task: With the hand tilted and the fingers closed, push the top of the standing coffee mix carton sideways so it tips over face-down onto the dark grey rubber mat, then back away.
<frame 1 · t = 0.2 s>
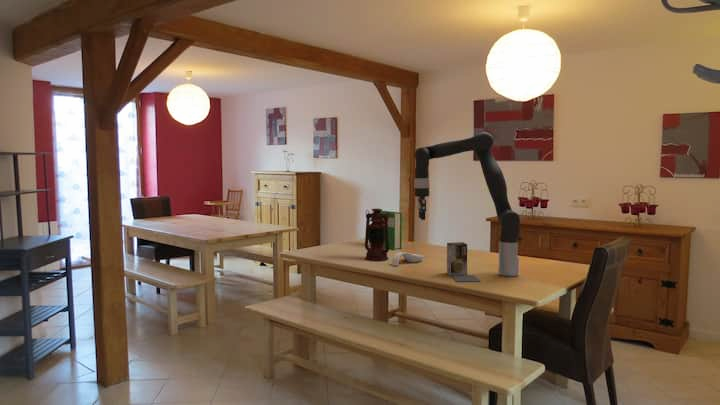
hand: (422, 218, 254), 29 cm above the table, tool pointing down, fingers open, 8 cm apart
mat: (465, 279, 248), on the table
spoon rest: (407, 263, 286), on the table
hardback book: (388, 248, 333), on the table
coffee box: (456, 274, 259), on the table
lantern: (376, 259, 296), on the table
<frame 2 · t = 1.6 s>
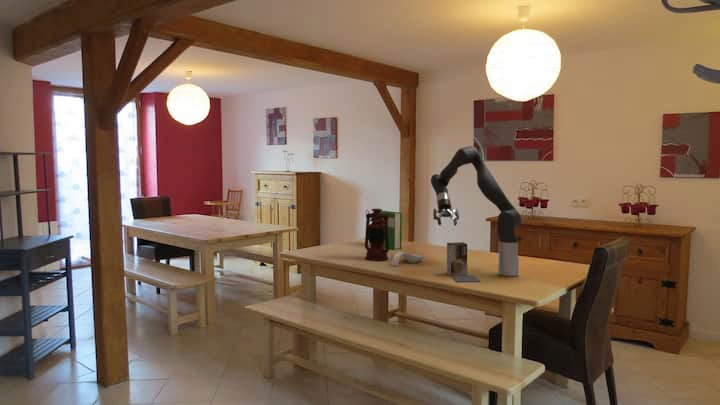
hand: (447, 224, 278), 23 cm above the table, tool tilted 45°, fingers open, 8 cm apart
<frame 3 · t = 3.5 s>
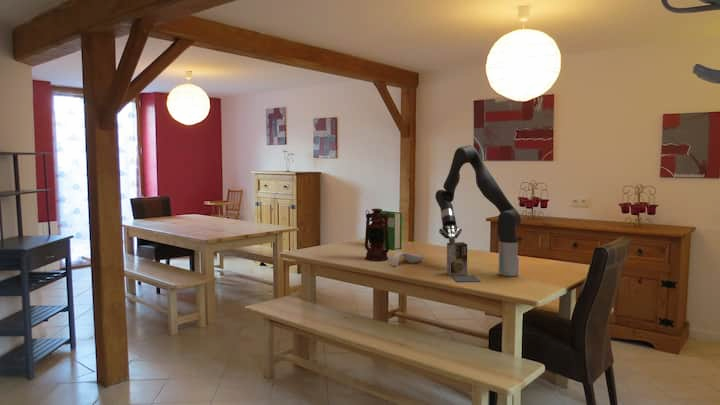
hand: (452, 243, 269), 14 cm above the table, tool tilted 45°, fingers closed
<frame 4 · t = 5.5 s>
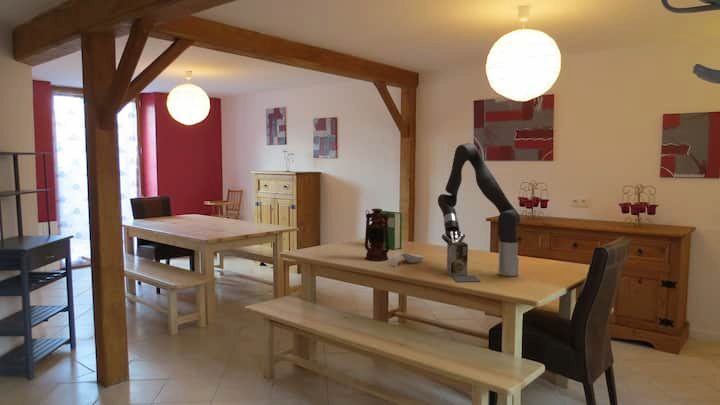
hand: (455, 250, 261), 12 cm above the table, tool tilted 45°, fingers closed
coffee box: (456, 274, 259), on the table, touching gripper
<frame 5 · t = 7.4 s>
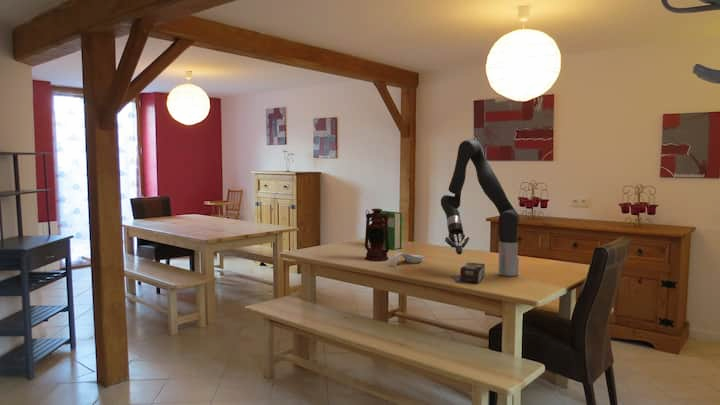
hand: (459, 253, 252), 12 cm above the table, tool tilted 45°, fingers closed
coffee box: (475, 268, 255), point 4 cm above the table, touching mat
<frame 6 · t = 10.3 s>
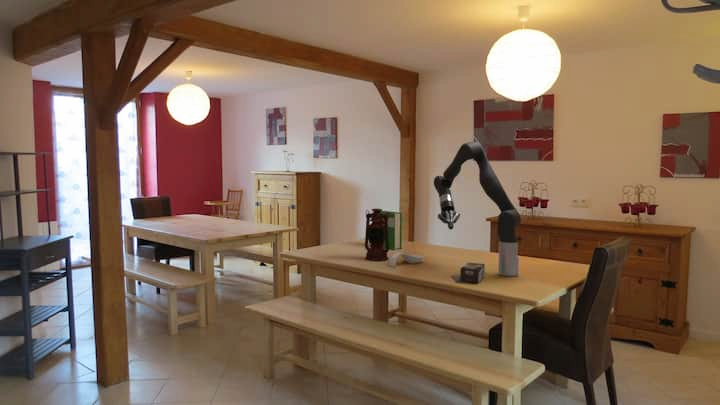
hand: (451, 228, 271), 22 cm above the table, tool tilted 45°, fingers closed
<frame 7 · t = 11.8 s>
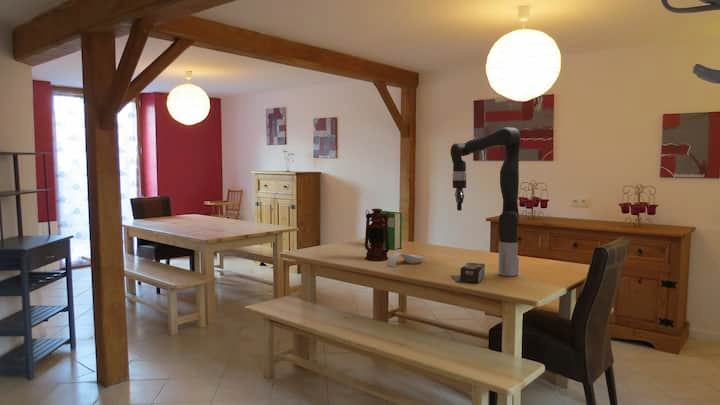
hand: (459, 210, 279), 31 cm above the table, tool pointing down, fingers closed
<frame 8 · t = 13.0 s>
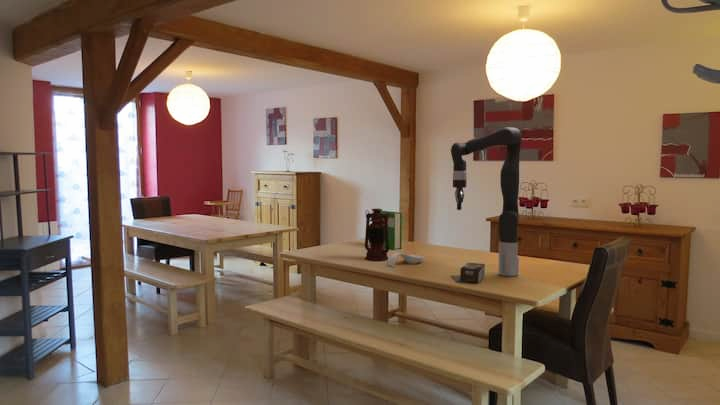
hand: (459, 209, 279), 31 cm above the table, tool pointing down, fingers closed
at the end: coffee box tilted 90°; coffee box inside the target area (10.3 cm from its centre), point 3.6 cm above the table; the gripper is holding nothing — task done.
